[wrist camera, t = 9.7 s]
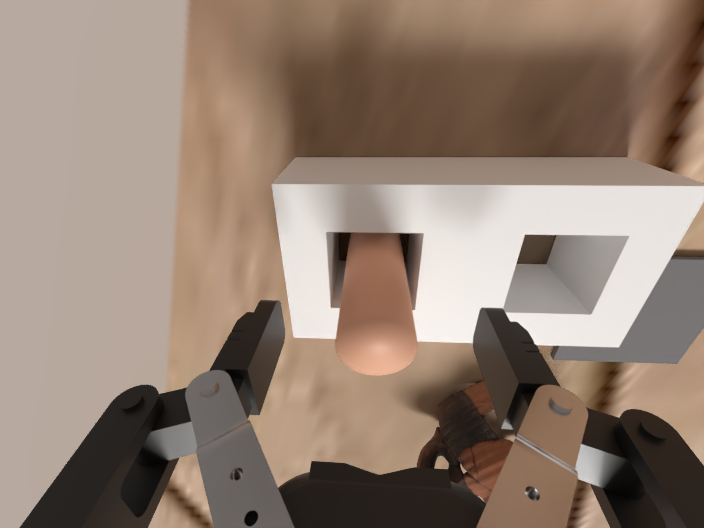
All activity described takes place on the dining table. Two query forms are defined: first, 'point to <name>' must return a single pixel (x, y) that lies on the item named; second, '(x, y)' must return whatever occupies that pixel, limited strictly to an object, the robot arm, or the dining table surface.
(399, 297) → the dowel
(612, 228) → the socket block
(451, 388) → the dining table surface
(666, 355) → the mat
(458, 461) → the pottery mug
